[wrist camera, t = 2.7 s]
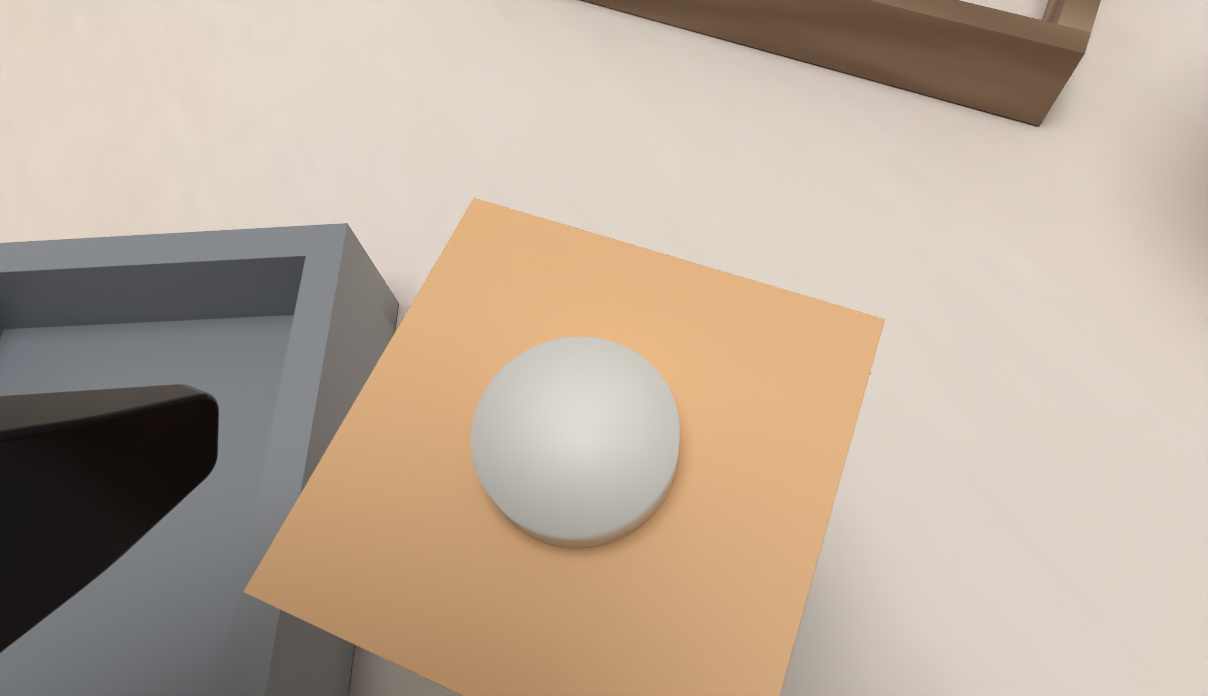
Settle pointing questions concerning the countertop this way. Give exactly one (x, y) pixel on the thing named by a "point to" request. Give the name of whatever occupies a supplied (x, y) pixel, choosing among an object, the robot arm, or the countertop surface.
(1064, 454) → the countertop surface
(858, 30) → the wooden tray
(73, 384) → the bin
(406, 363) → the copper cell
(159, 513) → the robot arm
